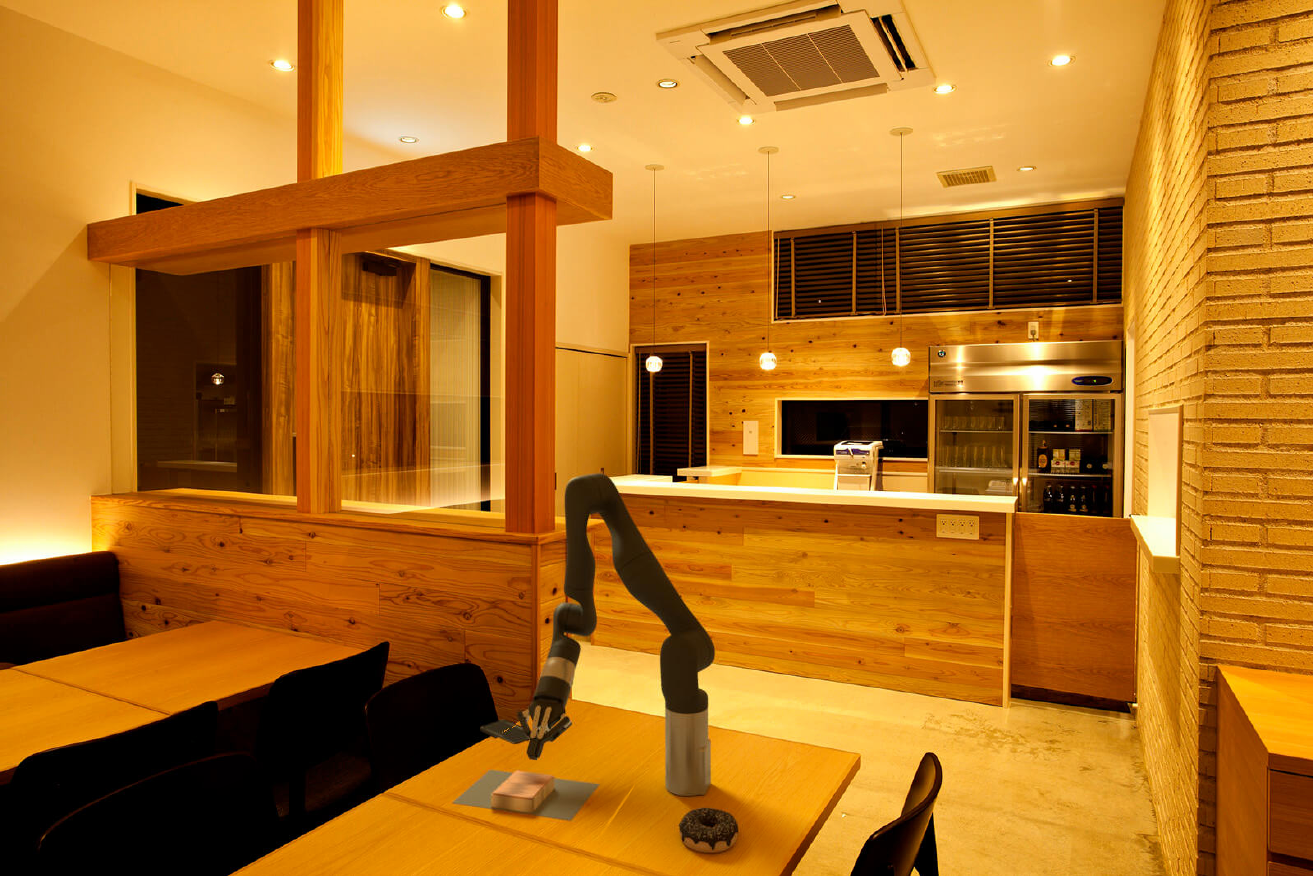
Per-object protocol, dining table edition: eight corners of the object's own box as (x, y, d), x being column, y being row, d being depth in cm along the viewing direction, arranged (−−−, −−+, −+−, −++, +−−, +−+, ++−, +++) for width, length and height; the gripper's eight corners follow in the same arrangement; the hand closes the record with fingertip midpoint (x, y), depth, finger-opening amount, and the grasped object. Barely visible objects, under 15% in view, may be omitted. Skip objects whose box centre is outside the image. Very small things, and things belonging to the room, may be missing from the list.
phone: (503, 719, 204) (540, 734, 193) (504, 723, 204) (540, 738, 193) (478, 727, 198) (514, 743, 188) (478, 732, 198) (514, 748, 188)
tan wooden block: (554, 775, 165) (532, 799, 154) (554, 788, 165) (532, 813, 154) (515, 770, 167) (491, 793, 157) (515, 783, 167) (491, 807, 157)
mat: (599, 786, 166) (599, 784, 166) (570, 823, 151) (570, 820, 151) (490, 772, 174) (490, 769, 174) (451, 805, 158) (451, 803, 158)
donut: (734, 823, 151) (734, 803, 151) (742, 857, 139) (742, 835, 139) (677, 824, 151) (677, 804, 151) (680, 858, 139) (680, 835, 139)
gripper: (523, 672, 175) (497, 747, 164) (578, 677, 172) (555, 754, 160) (533, 687, 181) (509, 762, 169) (587, 693, 177) (566, 769, 165)
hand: (532, 758), depth 165 cm, fingers closed
